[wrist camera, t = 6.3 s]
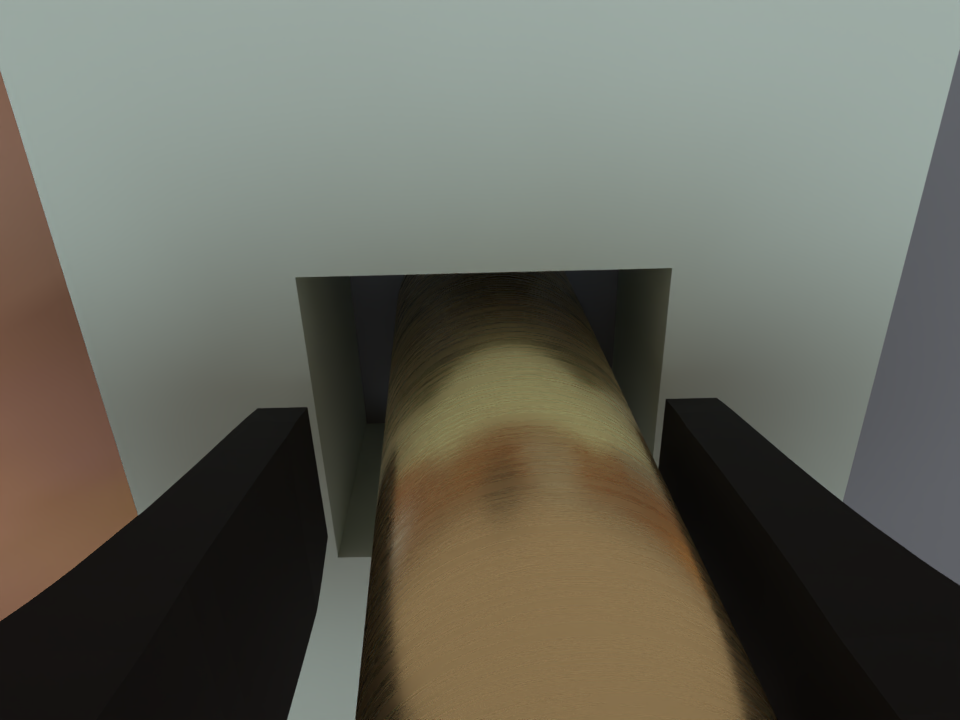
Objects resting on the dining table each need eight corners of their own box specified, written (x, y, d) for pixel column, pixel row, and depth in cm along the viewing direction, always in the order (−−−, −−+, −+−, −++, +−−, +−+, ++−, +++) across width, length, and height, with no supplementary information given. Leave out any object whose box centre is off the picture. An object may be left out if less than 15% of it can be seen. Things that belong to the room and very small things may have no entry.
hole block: (731, 564, 17) (788, 713, 13) (253, 574, 17) (203, 723, 14) (848, -101, 11) (999, -103, 8) (104, -79, 11) (-44, -74, 8)
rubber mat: (1113, 606, 18) (1129, 623, 17) (229, 624, 18) (223, 641, 18) (1535, -207, 10) (1581, -213, 10) (26, -163, 11) (6, -166, 10)
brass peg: (571, 386, 14) (822, 1092, 5) (403, 395, 14) (356, 1131, 5) (574, 222, 13) (918, 777, 4) (389, 230, 13) (294, 824, 4)
